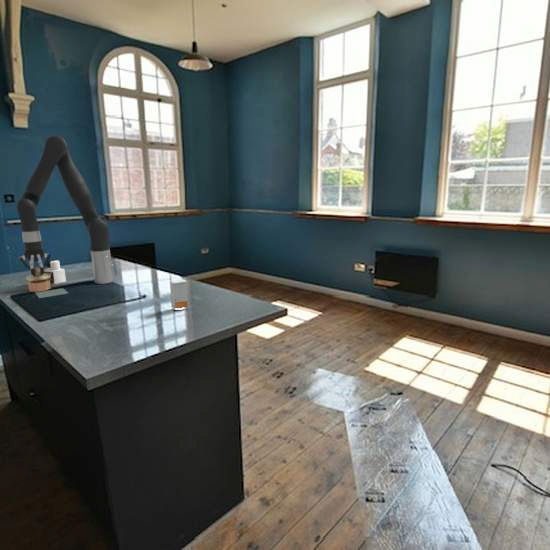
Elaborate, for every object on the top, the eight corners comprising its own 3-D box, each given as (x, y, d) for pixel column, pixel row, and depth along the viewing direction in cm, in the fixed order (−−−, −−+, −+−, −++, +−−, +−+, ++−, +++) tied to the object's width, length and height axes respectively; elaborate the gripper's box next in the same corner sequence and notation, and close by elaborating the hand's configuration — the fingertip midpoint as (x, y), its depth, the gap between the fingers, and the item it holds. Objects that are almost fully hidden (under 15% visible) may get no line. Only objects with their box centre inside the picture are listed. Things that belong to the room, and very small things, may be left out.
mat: (63, 289, 189) (62, 288, 189) (68, 294, 180) (68, 293, 180) (35, 293, 182) (35, 292, 182) (39, 299, 173) (39, 298, 173)
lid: (48, 274, 194) (46, 264, 193) (52, 278, 186) (50, 267, 185) (24, 278, 187) (22, 267, 186) (27, 282, 180) (25, 270, 178)
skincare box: (174, 311, 153) (172, 283, 150) (171, 308, 157) (169, 280, 154) (189, 309, 156) (187, 281, 153) (186, 306, 160) (184, 279, 157)
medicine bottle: (45, 283, 200) (41, 261, 198) (57, 280, 207) (53, 259, 204) (54, 284, 198) (51, 262, 195) (66, 281, 204) (63, 259, 201)
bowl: (48, 286, 194) (47, 278, 193) (52, 290, 188) (50, 281, 186) (28, 289, 189) (26, 281, 188) (31, 293, 182) (29, 284, 181)
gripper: (47, 238, 190) (52, 271, 194) (14, 241, 181) (20, 276, 185) (50, 239, 184) (55, 274, 188) (16, 242, 175) (22, 279, 179)
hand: (37, 275), depth 186 cm, fingers closed on lid, 2 cm apart
